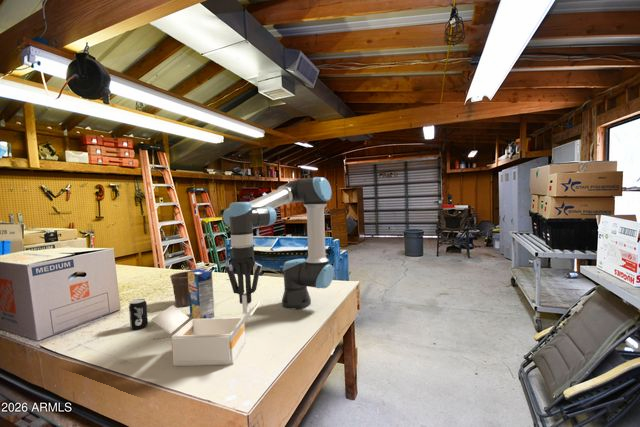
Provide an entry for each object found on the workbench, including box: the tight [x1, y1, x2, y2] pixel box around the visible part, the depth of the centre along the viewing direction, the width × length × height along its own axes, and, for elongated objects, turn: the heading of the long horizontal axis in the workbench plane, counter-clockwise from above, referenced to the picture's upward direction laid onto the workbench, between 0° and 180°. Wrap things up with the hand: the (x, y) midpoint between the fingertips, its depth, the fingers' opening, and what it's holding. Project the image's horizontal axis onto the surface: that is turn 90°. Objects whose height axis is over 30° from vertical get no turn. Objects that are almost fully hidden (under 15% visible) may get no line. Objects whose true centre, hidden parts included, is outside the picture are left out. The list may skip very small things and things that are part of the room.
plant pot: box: [169, 270, 190, 307], centre depth 154 cm, size 16×16×16 cm
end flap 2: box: [234, 301, 261, 332], centre depth 99 cm, size 1×12×8 cm
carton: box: [171, 316, 246, 367], centre depth 100 cm, size 20×16×10 cm
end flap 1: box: [150, 304, 190, 335], centre depth 100 cm, size 1×12×8 cm
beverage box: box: [187, 268, 215, 319], centre depth 134 cm, size 7×11×22 cm, turn 48°
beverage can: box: [128, 298, 149, 331], centre depth 125 cm, size 7×7×12 cm
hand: (246, 312), depth 99 cm, fingers closed
